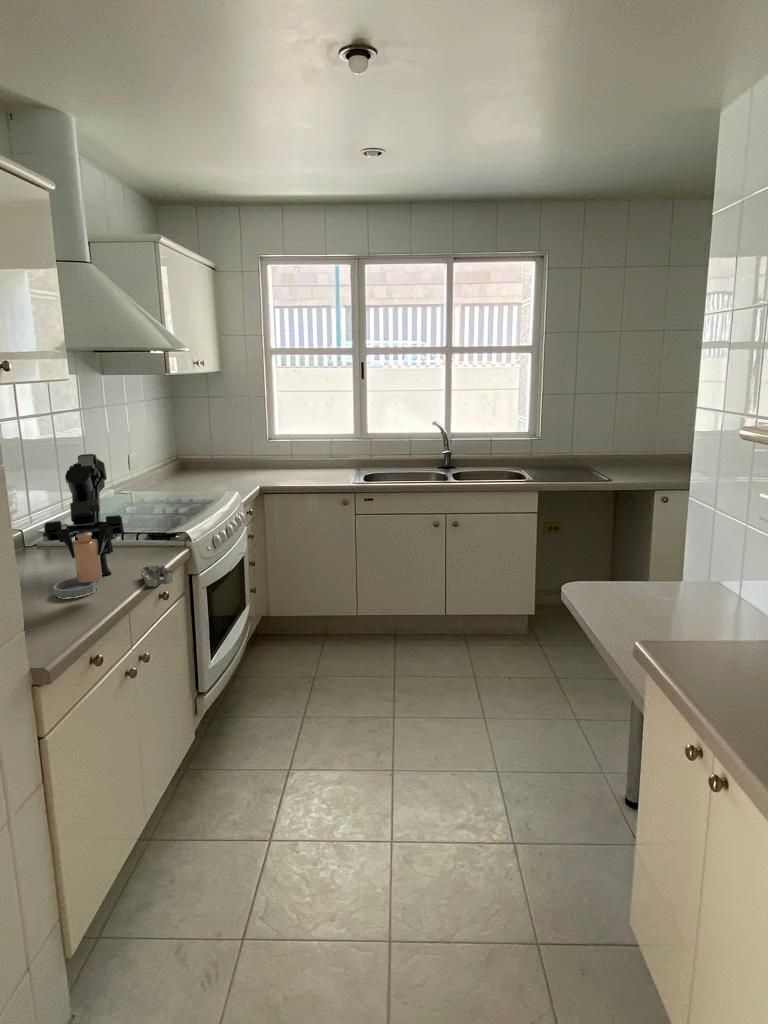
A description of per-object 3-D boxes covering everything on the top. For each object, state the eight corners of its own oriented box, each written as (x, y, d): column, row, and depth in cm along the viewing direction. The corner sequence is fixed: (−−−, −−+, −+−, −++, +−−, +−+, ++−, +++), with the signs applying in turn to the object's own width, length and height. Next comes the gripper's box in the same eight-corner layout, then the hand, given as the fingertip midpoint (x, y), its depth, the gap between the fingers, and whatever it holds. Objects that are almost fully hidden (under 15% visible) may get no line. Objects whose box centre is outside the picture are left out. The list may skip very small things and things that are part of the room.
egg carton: (174, 584, 189) (173, 570, 188) (146, 589, 185) (145, 575, 184) (167, 573, 198) (165, 560, 197) (140, 577, 194) (138, 564, 193)
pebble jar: (75, 577, 177) (69, 533, 174) (100, 572, 180) (94, 529, 177) (79, 584, 172) (73, 538, 169) (104, 579, 176) (98, 534, 172)
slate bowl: (52, 590, 185) (51, 582, 184) (92, 583, 190) (91, 574, 189) (57, 602, 176) (56, 593, 176) (100, 593, 182) (98, 585, 181)
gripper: (39, 491, 171) (40, 545, 164) (117, 485, 177) (121, 536, 170) (48, 514, 180) (48, 566, 173) (122, 507, 186) (126, 557, 179)
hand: (86, 555), depth 174 cm, fingers closed on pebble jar, 6 cm apart
